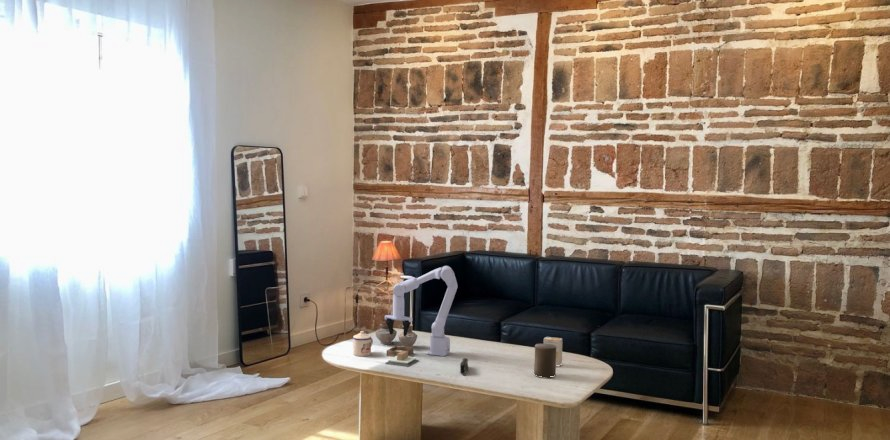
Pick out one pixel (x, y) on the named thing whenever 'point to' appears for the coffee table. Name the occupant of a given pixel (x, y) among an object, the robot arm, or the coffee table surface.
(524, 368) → the coffee table surface
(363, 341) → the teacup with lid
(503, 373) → the coffee table surface
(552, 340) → the supplement box
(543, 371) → the pillar candle
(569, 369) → the coffee table surface
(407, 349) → the tea box
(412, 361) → the mat
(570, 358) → the coffee table surface
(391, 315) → the robot arm
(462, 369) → the dark green stone
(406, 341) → the pottery
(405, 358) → the lid
